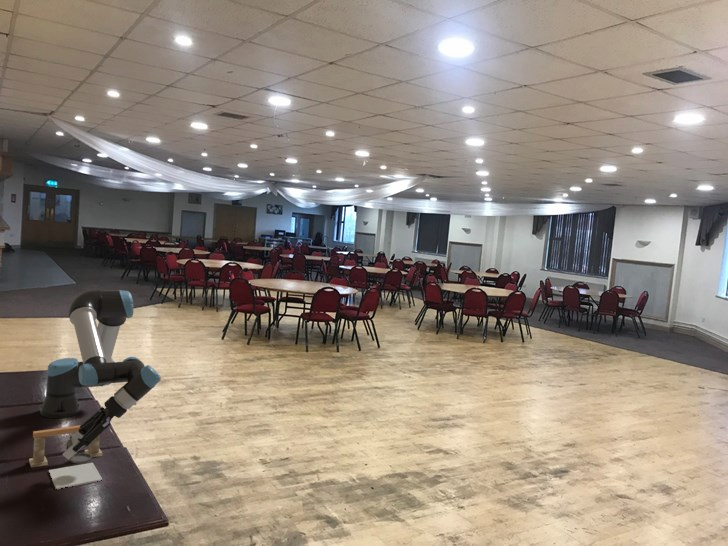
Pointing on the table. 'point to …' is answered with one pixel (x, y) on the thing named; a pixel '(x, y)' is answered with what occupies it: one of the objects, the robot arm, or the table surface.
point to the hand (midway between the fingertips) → (65, 452)
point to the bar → (56, 431)
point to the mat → (74, 475)
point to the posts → (40, 450)
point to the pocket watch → (80, 456)
